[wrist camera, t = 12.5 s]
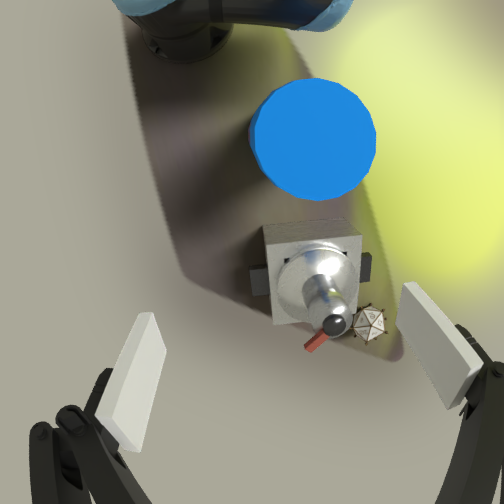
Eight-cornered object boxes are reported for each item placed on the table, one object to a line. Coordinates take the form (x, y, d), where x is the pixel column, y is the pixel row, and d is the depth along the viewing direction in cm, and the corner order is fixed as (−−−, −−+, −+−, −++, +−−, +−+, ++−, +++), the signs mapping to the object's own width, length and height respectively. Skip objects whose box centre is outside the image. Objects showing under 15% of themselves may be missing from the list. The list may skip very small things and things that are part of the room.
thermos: (284, 178, 47) (323, 227, 25) (234, 140, 44) (224, 149, 22) (325, 131, 44) (399, 137, 21) (275, 90, 41) (308, 51, 18)
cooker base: (245, 227, 51) (245, 247, 42) (359, 216, 50) (379, 233, 42) (254, 298, 57) (256, 327, 49) (355, 285, 56) (371, 310, 48)
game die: (355, 310, 64) (349, 351, 58) (347, 294, 58) (341, 338, 53) (392, 310, 59) (388, 351, 54) (388, 292, 53) (385, 339, 48)
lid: (311, 222, 44) (338, 263, 31) (362, 267, 48) (397, 315, 35) (258, 280, 48) (263, 337, 35) (312, 317, 52) (330, 373, 39)
